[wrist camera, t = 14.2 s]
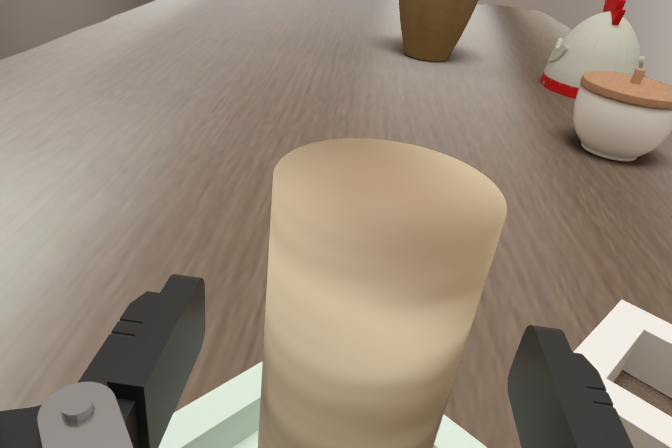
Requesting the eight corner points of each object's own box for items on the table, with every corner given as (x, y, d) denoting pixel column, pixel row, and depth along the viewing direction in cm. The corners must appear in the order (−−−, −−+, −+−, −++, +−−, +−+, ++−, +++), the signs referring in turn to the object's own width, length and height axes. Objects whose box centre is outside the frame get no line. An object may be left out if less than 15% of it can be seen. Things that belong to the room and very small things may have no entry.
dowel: (313, 707, 15) (408, 282, 7) (222, 581, 18) (224, 166, 10) (408, 591, 18) (548, 199, 10) (318, 497, 20) (378, 125, 13)
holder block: (741, 561, 21) (782, 517, 20) (534, 417, 26) (553, 374, 25) (778, 436, 27) (811, 394, 26) (602, 338, 32) (621, 299, 31)
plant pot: (474, 72, 87) (500, -36, 79) (383, 60, 88) (400, -49, 80) (464, 52, 100) (485, -43, 92) (385, 42, 100) (399, -54, 92)
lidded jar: (551, 149, 60) (579, 65, 55) (570, 126, 68) (596, 51, 63) (655, 180, 56) (695, 91, 51) (662, 151, 64) (697, 72, 59)
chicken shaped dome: (618, 86, 91) (654, -9, 83) (643, 111, 79) (689, 2, 71) (534, 73, 92) (563, -22, 85) (547, 95, 80) (582, -13, 73)
